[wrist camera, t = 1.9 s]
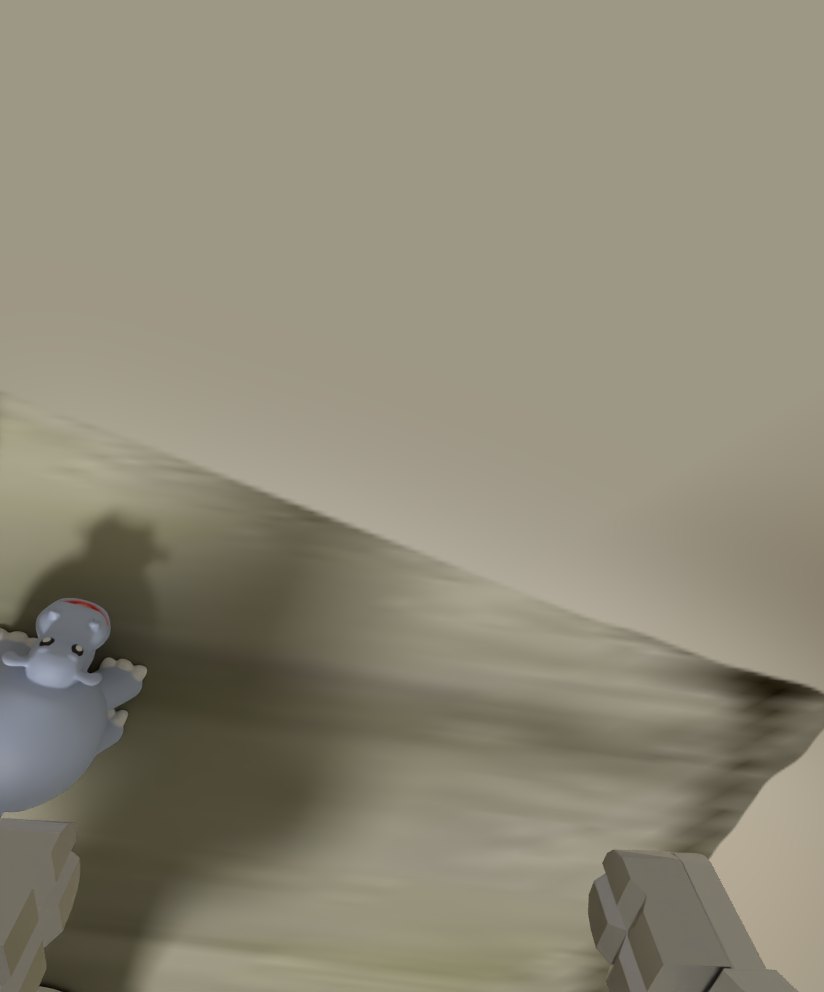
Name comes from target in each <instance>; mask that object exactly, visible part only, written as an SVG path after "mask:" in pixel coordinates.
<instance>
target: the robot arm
mask: <svg viewBox="0 0 824 992" xmlns="http://www.w3.org/2000/svg"><path fill="white" fill-rule="evenodd" d="M76 839H77V833H76V828H75V823H72V822H56V821H39V820H23V819H6V818H0V992H61V991H58V990H55V989H51V988H47V987H41V986H39V985H40V983H41V980H42V978H43V976H44V973H45V971H46V969H47V965H46V958H45V952H44V948H45V947H46V946H47V945H48V944H49V943H50V942H51V941H52V940H53V939H55V938H56V937H57V936H58V935H59V934H60V933H61V932H62V931H63V929H64V927H65V925H66V922H67V920H68V917H69V915H70V913H71V910H72V907H73V904H74V900H75V897H76V893H77V890H78V886H79V879H80V870H81V868H80V858H79V857H78V856H77V855H76V854H75V853H74V852H72V851H71V850H72V848H73V846H74V843H75V841H76ZM602 864H603V867H604V870H605V874H604V875H602V876H601V877H599V878H598V879H596V880H595V881H594V882H593V885H592V888H591V890H590V893H589V903H588V915H589V922H590V928H591V932H592V936H593V939H594V943H595V946H596V948H597V950H598V951H599V952H600V953H601V954H602V955H603V956H604V958H605V959H606V960H607V961H608V962H609V963H610V968H609V972H608V975H607V979H606V983H607V986H608V990H609V992H798V991H797V990H796V989H795V988H794V987H793V986H792V985H791V984H790V983H789V982H788V981H787V980H786V979H785V978H784V977H783V976H781V975H780V974H779V973H778V972H777V971H776V970H768V969H766V967H765V965H764V964H763V962H762V960H761V958H760V956H759V954H758V952H757V950H756V948H755V946H754V944H753V942H752V941H751V939H750V937H749V935H748V933H747V931H746V929H745V927H744V925H743V924H742V921H741V920H740V918H739V916H738V914H737V912H736V910H735V908H734V906H733V904H732V902H731V901H730V899H729V897H728V895H727V893H726V891H725V889H724V887H723V885H722V883H721V881H720V879H719V878H718V875H717V874H716V872H715V870H714V868H713V866H712V864H711V862H710V861H709V860H708V859H707V858H706V857H705V856H704V855H701V854H697V853H673V852H669V851H642V850H612V851H610V852H608V853H607V854H606V856H605V858H604V861H603V863H602Z"/></svg>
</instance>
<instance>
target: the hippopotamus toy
mask: <svg viewBox="0 0 824 992" xmlns="http://www.w3.org/2000/svg"><path fill="white" fill-rule="evenodd" d="M36 631H37V635H38V639H37V638H29V637H28V636H27V634H26V633H24V632H21V631H14V632H11V633H8V632H7V631H6V630H4V629H2V628H0V818H1V815H2V814H3V813H4V812H19V811H24V810H27V809H30V808H33V807H36V806H38V805H40V804H43V803H45V802H47V801H49V800H51V799H53V798H54V797H56V796H58V795H59V794H61V793H62V792H64V791H65V790H67V789H68V788H69V787H70V786H72V785H73V784H74V783H75V782H76V781H77V780H78V779H79V778H80V777H81V776H82V775H83V774H84V772H85V771H86V770H87V769H88V767H89V766H90V764H91V763H92V761H93V759H94V757H95V756H96V755H98V754H99V753H101V752H102V751H104V750H105V749H107V748H109V747H110V746H112V745H113V744H115V743H116V742H117V741H119V739H120V738H121V736H122V734H123V731H124V728H123V726H124V723H125V721H126V719H127V717H128V712H127V711H125V710H119V711H115V709H114V708H116V707H117V706H119V705H121V704H123V703H125V702H126V701H128V700H130V699H132V698H134V697H135V696H136V695H137V694H138V693H139V692H140V691H141V689H142V685H143V683H142V680H143V678H144V677H145V676H146V673H147V669H146V667H144V666H142V665H136V666H134V665H133V664H132V663H131V662H130V661H129V660H126V659H119V660H117V661H115V660H114V659H113V658H110V657H108V658H106V659H104V660H103V661H102V663H101V665H100V668H99V670H98V671H96V672H94V673H88V672H87V669H88V668H89V666H90V665H91V663H92V661H93V658H94V655H95V651H96V649H97V648H99V647H100V646H101V645H103V644H104V643H105V641H106V640H107V639H108V637H109V635H110V631H111V625H110V619H109V616H108V613H107V612H106V611H105V610H104V609H103V608H102V607H100V606H99V605H97V604H95V603H93V602H90V601H87V600H83V599H78V598H63V599H59V600H57V601H55V602H54V603H52V604H50V605H49V606H48V607H47V608H45V609H44V610H43V611H42V612H41V613H40V614H39V615H38V617H37V620H36Z"/></svg>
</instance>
